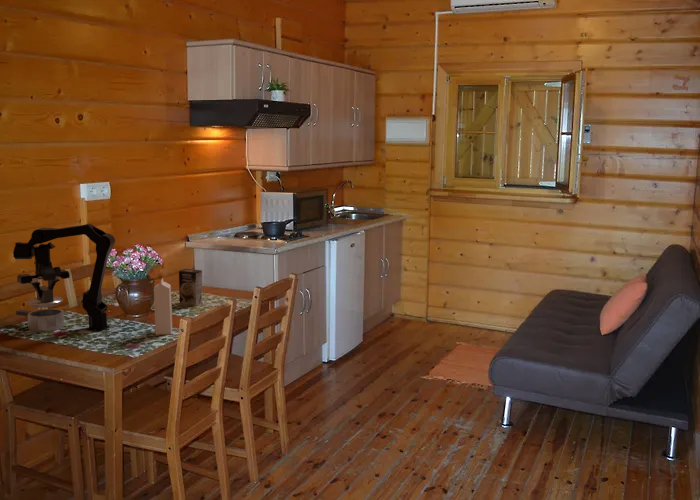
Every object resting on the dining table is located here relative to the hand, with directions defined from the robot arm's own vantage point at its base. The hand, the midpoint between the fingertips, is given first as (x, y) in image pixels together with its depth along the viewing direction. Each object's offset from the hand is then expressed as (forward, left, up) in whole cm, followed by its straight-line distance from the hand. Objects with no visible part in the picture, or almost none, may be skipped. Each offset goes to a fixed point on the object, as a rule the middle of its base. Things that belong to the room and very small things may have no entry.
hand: (44, 297), depth 273 cm
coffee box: (-32, -57, -13) cm, 67 cm away
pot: (+6, -2, -13) cm, 15 cm away
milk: (-47, -13, -13) cm, 51 cm away
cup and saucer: (0, 0, -3) cm, 3 cm away
